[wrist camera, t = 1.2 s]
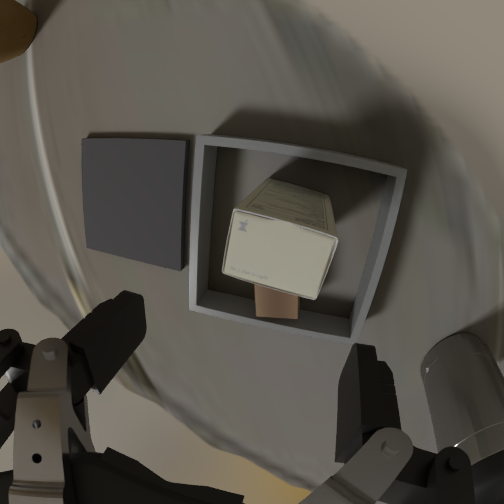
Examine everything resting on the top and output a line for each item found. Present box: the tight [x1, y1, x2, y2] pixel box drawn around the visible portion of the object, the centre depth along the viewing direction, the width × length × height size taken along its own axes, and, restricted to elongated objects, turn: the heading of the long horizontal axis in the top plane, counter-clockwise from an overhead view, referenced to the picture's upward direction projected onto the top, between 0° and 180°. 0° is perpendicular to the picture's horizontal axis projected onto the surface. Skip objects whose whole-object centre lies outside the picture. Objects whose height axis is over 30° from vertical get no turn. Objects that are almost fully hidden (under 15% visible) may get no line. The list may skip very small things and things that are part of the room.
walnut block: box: [254, 284, 301, 319], centre depth 30 cm, size 4×4×4 cm
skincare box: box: [222, 178, 338, 300], centre depth 23 cm, size 6×4×12 cm
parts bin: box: [189, 134, 407, 345], centre depth 28 cm, size 18×18×4 cm
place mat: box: [82, 138, 189, 271], centre depth 31 cm, size 14×14×1 cm
